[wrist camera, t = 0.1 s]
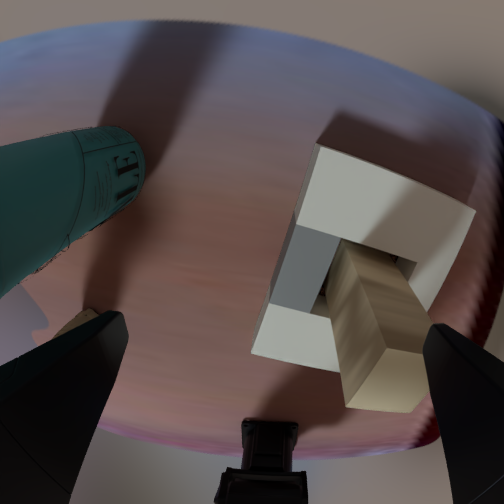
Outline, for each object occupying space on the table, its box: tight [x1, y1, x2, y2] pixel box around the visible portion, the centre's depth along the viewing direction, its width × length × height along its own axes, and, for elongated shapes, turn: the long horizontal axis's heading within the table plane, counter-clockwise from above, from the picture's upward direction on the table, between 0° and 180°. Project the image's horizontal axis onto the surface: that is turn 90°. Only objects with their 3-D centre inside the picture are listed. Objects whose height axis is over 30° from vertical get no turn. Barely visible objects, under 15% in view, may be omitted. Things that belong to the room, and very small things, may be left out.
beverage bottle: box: [0, 126, 145, 299], centre depth 12 cm, size 6×7×20 cm
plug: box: [323, 239, 433, 413], centre depth 18 cm, size 4×4×12 cm
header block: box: [251, 143, 476, 372], centre depth 22 cm, size 16×12×3 cm
